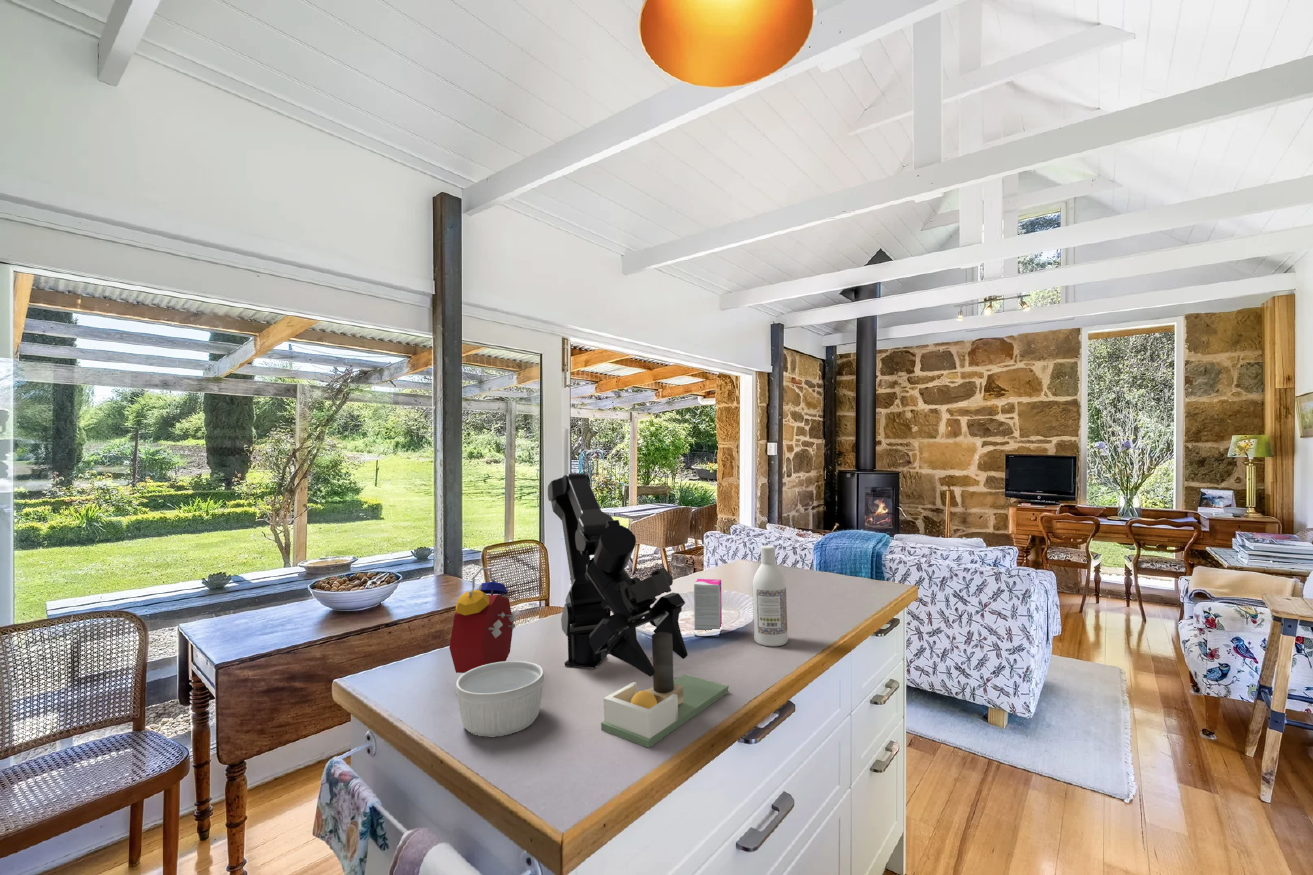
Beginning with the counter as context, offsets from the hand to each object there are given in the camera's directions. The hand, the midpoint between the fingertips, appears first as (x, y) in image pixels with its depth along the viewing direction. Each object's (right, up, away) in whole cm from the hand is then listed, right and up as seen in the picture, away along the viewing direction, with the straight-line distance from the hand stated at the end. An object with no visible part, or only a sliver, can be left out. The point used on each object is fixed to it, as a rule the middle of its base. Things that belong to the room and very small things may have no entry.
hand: (670, 665), depth 87 cm
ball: (-4, -5, -3) cm, 7 cm away
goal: (-4, -7, -4) cm, 9 cm away
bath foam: (+22, -8, +31) cm, 39 cm away
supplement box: (+10, -8, +38) cm, 40 cm away
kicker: (-1, -6, +1) cm, 6 cm away
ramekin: (-26, -9, 0) cm, 28 cm away
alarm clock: (-33, -9, +19) cm, 39 cm away
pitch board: (0, -8, +2) cm, 8 cm away
